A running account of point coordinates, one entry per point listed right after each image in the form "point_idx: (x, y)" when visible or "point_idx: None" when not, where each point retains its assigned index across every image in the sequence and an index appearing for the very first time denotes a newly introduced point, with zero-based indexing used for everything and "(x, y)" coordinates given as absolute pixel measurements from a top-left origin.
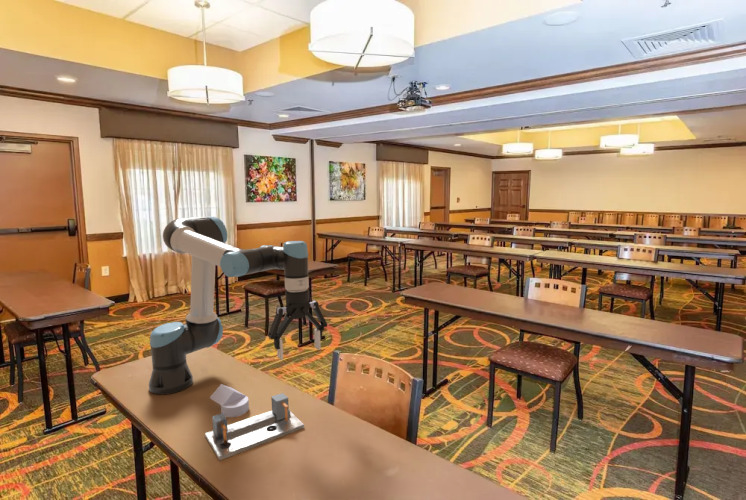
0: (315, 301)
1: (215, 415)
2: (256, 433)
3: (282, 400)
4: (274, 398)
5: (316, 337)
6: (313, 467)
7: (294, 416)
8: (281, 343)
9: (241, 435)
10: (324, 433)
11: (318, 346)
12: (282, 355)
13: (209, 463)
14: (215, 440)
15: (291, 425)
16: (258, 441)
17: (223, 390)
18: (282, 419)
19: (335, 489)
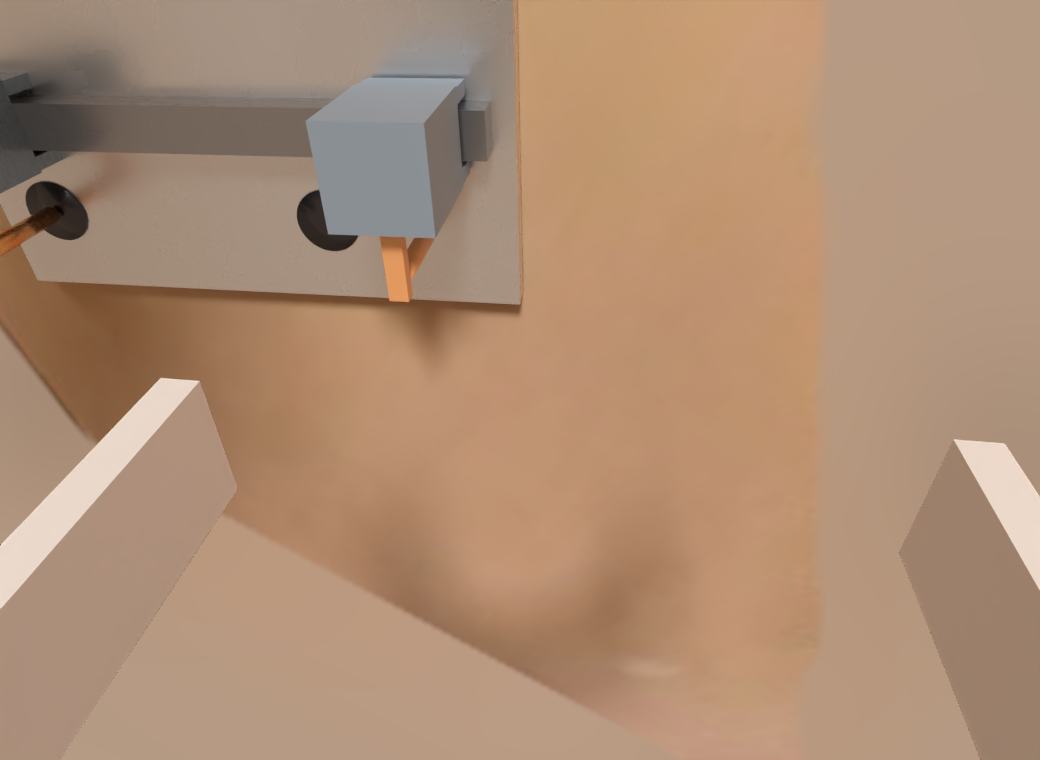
0: None
1: None
2: (232, 211)
3: (384, 231)
4: (324, 173)
5: (1029, 734)
6: (429, 527)
7: (509, 186)
8: (39, 752)
9: (142, 173)
10: (589, 398)
11: (920, 605)
12: (194, 538)
13: (8, 260)
14: None
15: (449, 268)
16: (235, 289)
17: None
18: None
19: (447, 621)
